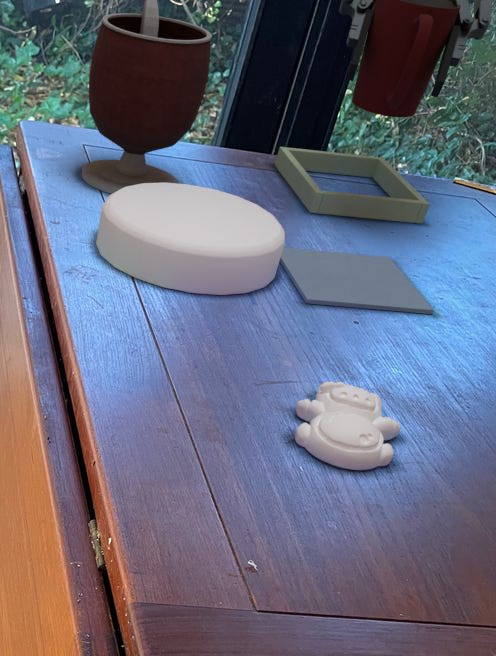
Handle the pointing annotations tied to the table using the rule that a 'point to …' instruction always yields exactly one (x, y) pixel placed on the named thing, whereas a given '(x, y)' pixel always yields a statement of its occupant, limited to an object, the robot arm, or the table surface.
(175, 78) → the mate gourd
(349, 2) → the robot arm
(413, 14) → the mug
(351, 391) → the astronaut figurine
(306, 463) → the table surface
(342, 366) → the table surface
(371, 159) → the green rectangular frame
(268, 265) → the container
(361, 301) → the mat
